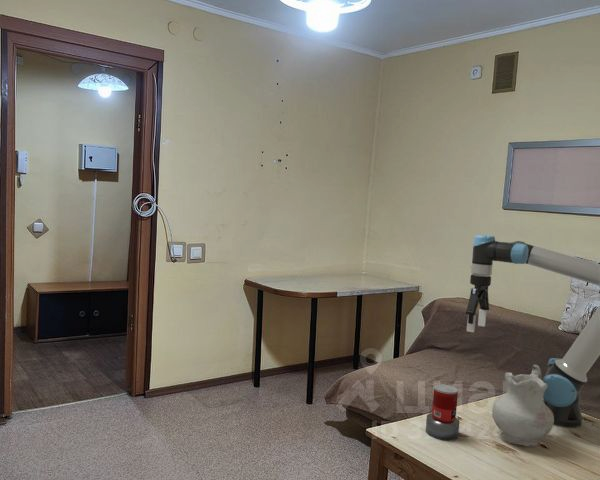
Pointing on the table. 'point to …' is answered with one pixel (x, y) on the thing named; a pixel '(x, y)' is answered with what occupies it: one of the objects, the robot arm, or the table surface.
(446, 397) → the canned food
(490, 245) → the robot arm
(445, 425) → the pedestal
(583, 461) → the table surface
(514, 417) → the ceramic pitcher
